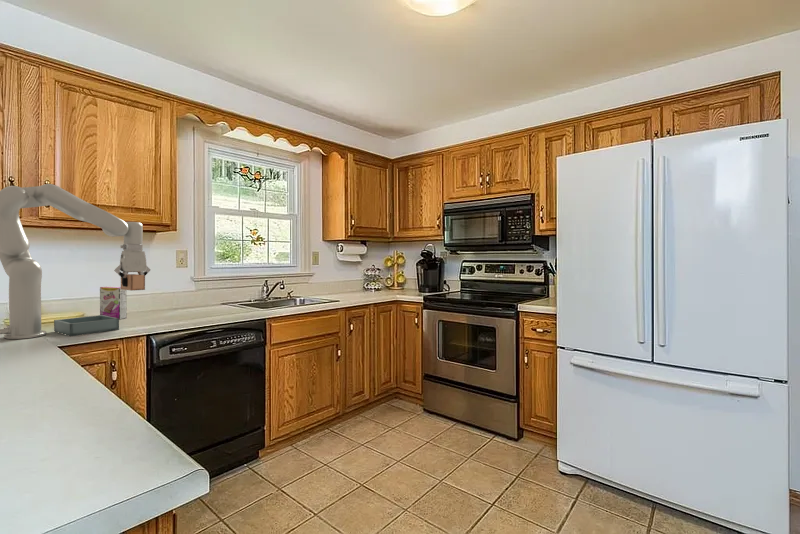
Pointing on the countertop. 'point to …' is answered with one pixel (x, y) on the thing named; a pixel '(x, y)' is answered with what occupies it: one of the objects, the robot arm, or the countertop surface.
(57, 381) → the countertop surface
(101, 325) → the dark grey tray
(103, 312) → the candy bar box
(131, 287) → the box
